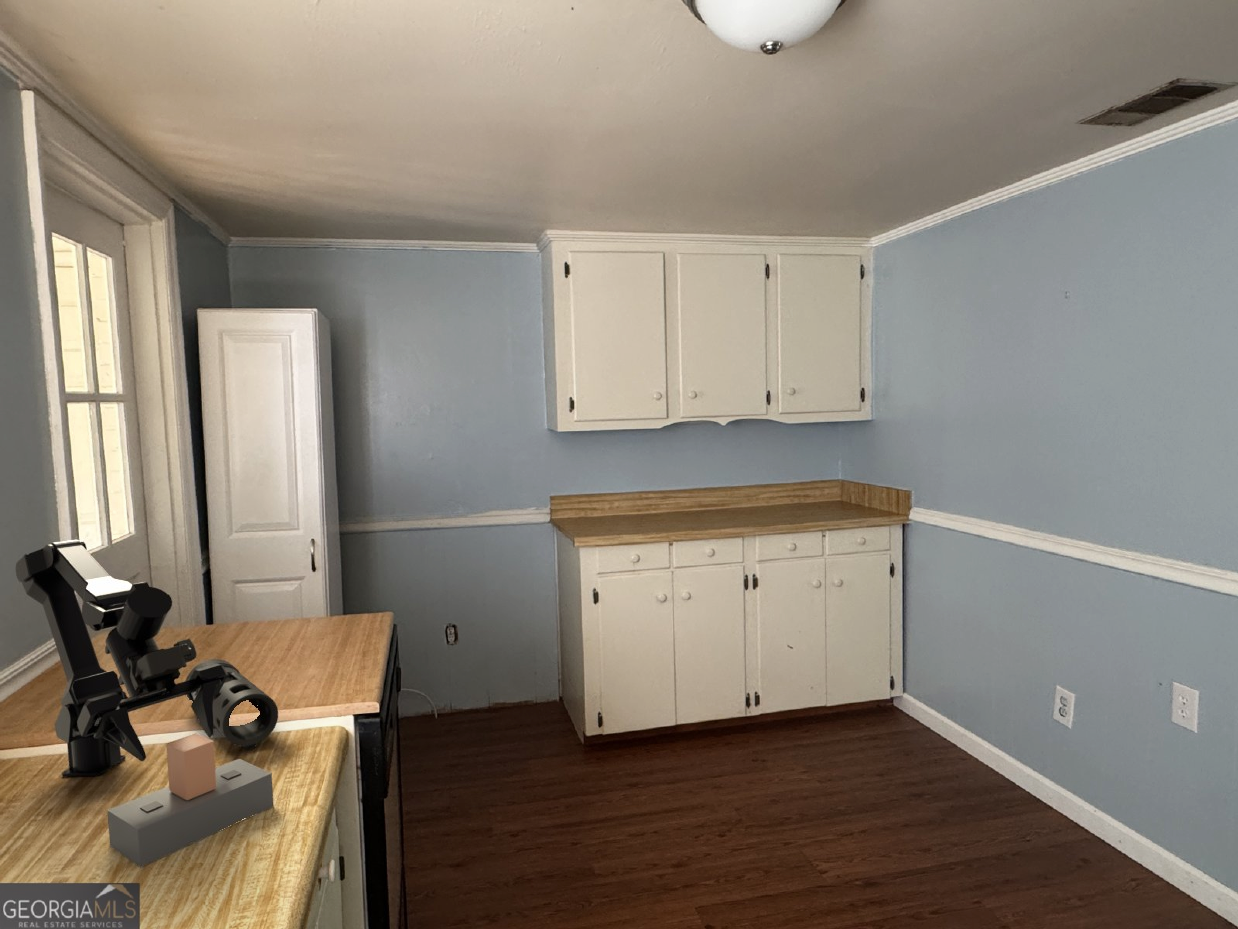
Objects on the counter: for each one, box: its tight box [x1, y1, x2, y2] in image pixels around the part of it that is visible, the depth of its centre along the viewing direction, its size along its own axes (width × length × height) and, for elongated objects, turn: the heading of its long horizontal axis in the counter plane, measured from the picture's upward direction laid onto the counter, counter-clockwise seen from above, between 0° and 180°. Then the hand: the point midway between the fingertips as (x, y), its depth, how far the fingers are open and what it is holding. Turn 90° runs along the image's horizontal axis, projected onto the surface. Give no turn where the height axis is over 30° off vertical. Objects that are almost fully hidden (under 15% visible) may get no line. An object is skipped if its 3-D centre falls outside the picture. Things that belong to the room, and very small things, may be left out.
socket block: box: [107, 758, 274, 869], centre depth 107 cm, size 9×18×5 cm, turn 145°
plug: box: [165, 732, 216, 800], centre depth 107 cm, size 5×4×11 cm
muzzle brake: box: [184, 658, 279, 751], centre depth 142 cm, size 10×28×10 cm, turn 42°
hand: (178, 747), depth 109 cm, fingers open, 9 cm apart
